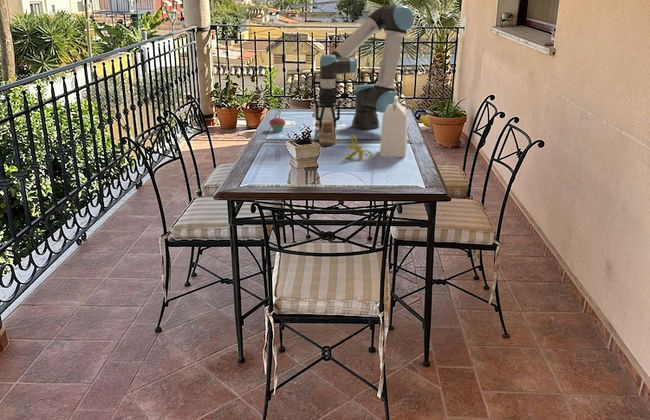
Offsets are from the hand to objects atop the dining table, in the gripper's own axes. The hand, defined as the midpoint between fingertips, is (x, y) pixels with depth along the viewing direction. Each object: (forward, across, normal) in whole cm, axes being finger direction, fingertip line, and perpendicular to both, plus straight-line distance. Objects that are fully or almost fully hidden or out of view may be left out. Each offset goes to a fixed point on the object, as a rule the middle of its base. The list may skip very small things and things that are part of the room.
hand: (327, 133), depth 292 cm
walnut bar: (-2, 0, -2) cm, 2 cm away
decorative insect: (+3, +14, -37) cm, 39 cm away
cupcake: (+3, -27, +17) cm, 32 cm away
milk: (+3, +31, -26) cm, 41 cm away
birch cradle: (+3, 0, -2) cm, 4 cm away
